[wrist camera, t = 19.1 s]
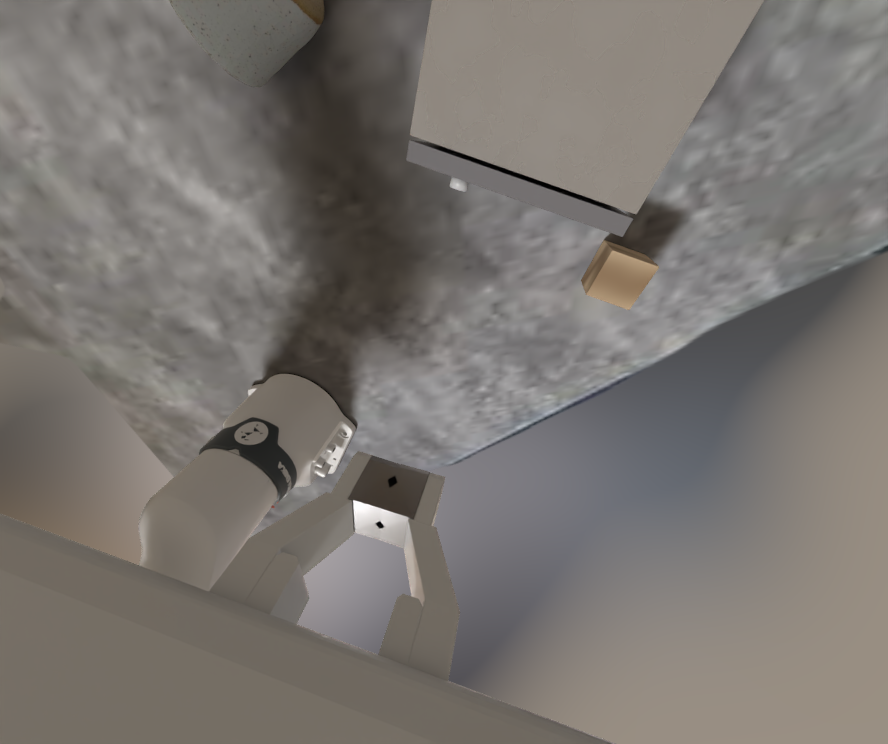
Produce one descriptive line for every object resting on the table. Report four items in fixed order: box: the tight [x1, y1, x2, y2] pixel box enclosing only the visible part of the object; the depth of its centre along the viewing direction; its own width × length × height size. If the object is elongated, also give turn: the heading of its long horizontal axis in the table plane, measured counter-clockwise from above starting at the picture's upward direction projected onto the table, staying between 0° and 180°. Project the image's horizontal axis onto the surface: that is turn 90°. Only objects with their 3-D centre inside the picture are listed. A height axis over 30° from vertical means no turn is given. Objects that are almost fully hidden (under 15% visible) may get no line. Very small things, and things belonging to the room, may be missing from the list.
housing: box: [410, 0, 764, 214], centre depth 20 cm, size 14×16×8 cm
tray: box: [406, 140, 633, 237], centre depth 21 cm, size 15×16×8 cm
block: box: [581, 240, 659, 310], centre depth 28 cm, size 4×4×4 cm
